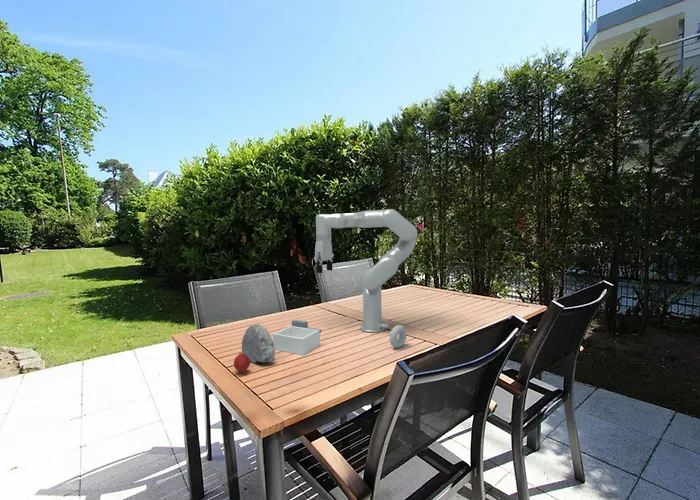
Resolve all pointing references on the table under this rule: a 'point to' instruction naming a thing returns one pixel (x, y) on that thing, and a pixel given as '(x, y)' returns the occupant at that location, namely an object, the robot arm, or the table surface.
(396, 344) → the donut
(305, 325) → the lid
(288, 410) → the table surface
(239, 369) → the onion
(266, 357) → the decorative rock
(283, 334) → the tub
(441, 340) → the table surface
